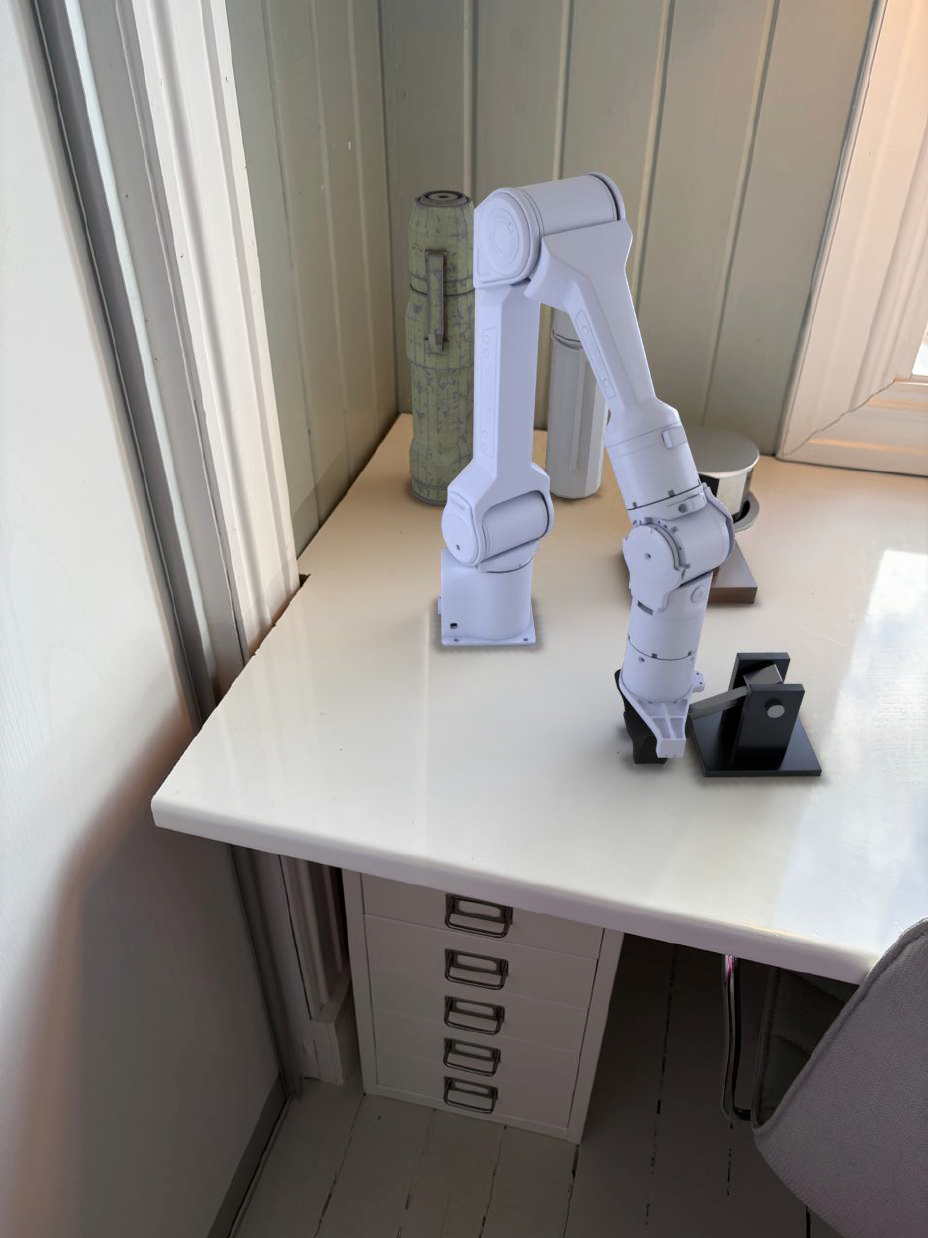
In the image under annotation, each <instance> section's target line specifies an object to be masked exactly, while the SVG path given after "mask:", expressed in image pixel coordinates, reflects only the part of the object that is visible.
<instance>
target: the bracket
mask: <svg viewBox="0 0 928 1238" xmlns="http://www.w3.org/2000/svg"><path fill="white" fill-rule="evenodd" d="M791 660H792V659H791V657H790V654H789V653H788V652H786V651H785V652H784V651H781V652H780V651H779V652H777V651H775V652H768V651H767V652H737V653H736V655H735V660H734V663H733V667H732V672H731V676H730V680H729V684H728V688H727V691H730V690H733V689H736V688H739V687H742V686H745V685H747V684H746V682H745V679H744V677H743V675H745V674H748V673H751V672H754V671H756V670H759V669H762V668H765V667H768V666H771V665H774V664H775V665H776V667H777V669H778V671H779V674H780V676H781V678H782V681H783V683H784V684H749V687H748V691H747V695H746V698H745V702H744V704H741V705H738V706H735V707H732V708H729V709H726V710H723V711H720V712H717V713H714V714H711V715H708V716H705V717H702V718H699V719H696V720H693V721H692V722H693V725H694V728H693V732H692V735H691V737H692V741H693V744H694V746H695V750H696V754H697V757H698V760H699V763H700V767H701V770H702V774H703V777H704V778H707V779H708V778H784V777H785V778H789V777H793V778H794V777H795V778H797V777H821V775H822V772H823V770H822V767H821V765H820V763H819V760H818V758H817V756H816V753H815V750H814V749H813V746H812V744H811V742H810V740H809V737H808V735H807V733H806V731H805V728H804V726H803V724H802V721H801V718H800V716H799V713H800V710H801V707H802V703H803V701H804V697H805V694H806V689H805V687H804V685H803V683H785V681H786V677H787V673H788V670H789V667H790V664H791Z"/></svg>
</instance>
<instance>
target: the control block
mask: <svg viewBox="0 0 928 1238" xmlns="http://www.w3.org/2000/svg"><path fill="white" fill-rule="evenodd" d="M710 571H712V572H713V576H712V581H711V586H710V591H709V596H708V601H707V605H712V604H714V605H716V604H718V605H719V604H720V605H721V604H722V605H723V604H725V605H726V604H728V605H729V604H731V605H732V604H755V600H756V597H757V593H758V588H759V587H758V584H757V581H756V580H755V578H754V576H753V574H752V571H751V569H750V567H749V565H748V563H747V560H746V558H745V556H744V554H743V552H742V550H741V548H740V545H739V544H738V541H737V539H736V538H735V547H734V550H733V553H732V555H731V556H730V557H729V559H728V560H726V561H725V562H724V563H722V564H721V565H719V566H718V567H716V568H714V569H712V570H710Z"/></svg>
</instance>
